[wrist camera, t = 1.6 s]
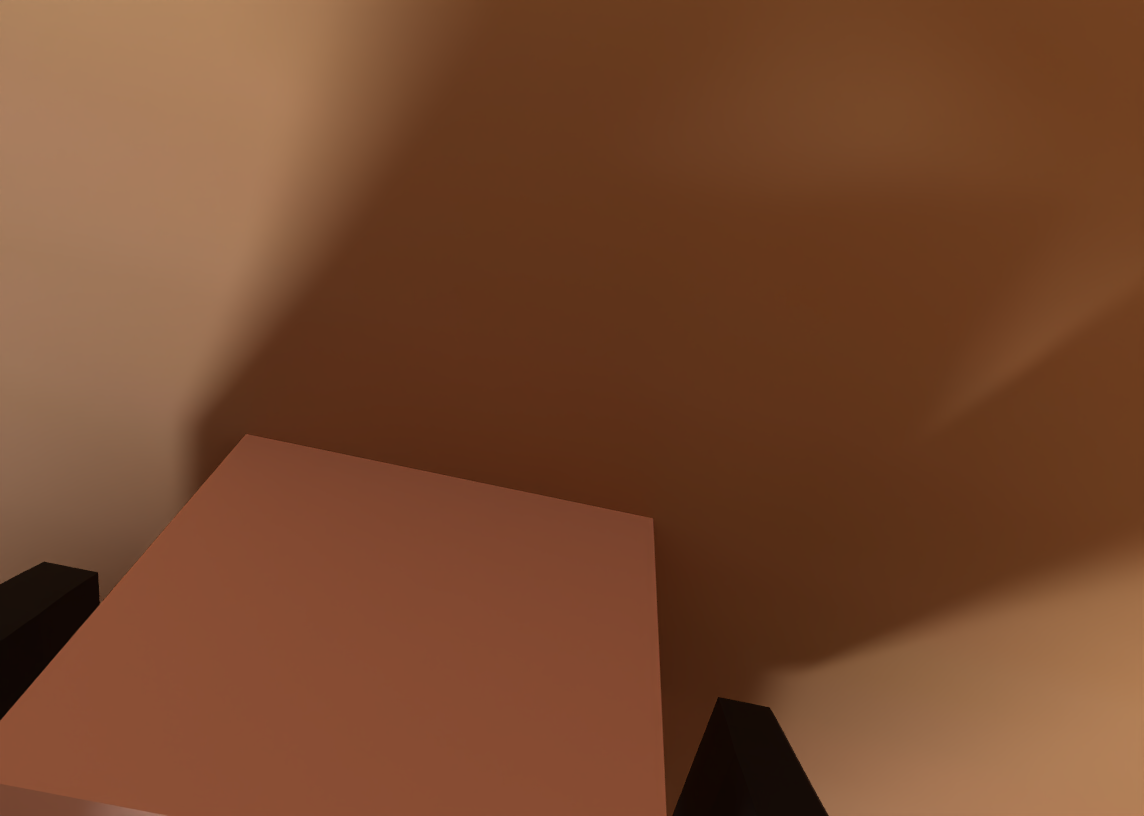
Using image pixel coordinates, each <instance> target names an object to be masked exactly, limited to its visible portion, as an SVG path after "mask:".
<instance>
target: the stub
mask: <svg viewBox="0 0 1144 816" xmlns="http://www.w3.org/2000/svg"><path fill="white" fill-rule="evenodd" d="M0 816H667V813H666V790H665V768H664V746H663V724H662V702H661V680H660V658H659V636H658V614H657V592H656V570H655V547H654V525H653V518H649V517H644V516H639V515H635V514H630V513H625V512H620V511H615V510H610V509H606V508H601V507H596V506H591V505H586V504H582V503H577V502H572V501H567V500H562V499H558V498H553V497H548V496H543V495H538V494H533V493H529V492H524V491H519V490H514V489H509V488H505V487H500V486H495V485H490V484H485V483H480V482H476V481H471V480H466V479H461V478H456V477H452V476H447V475H442V474H437V473H432V472H427V471H423V470H418V469H413V468H408V467H403V466H399V465H394V464H389V463H384V462H379V461H374V460H370V459H365V458H360V457H355V456H350V455H346V454H341V453H336V452H331V451H326V450H321V449H317V448H312V447H307V446H302V445H297V444H293V443H288V442H283V441H278V440H273V439H268V438H264V437H259V436H254V435H249V434H246V435H245V436H244V437H243V438H242V439H241V440H240V442H239V443H238V444H237V445H236V446H235V447H234V449H233V450H232V451H231V452H230V453H229V454H228V456H227V457H226V458H225V459H224V460H223V461H222V463H221V464H220V465H219V466H218V467H217V468H216V470H215V471H214V472H213V473H212V474H211V475H210V477H209V478H208V479H207V480H206V481H205V482H204V484H203V485H202V486H201V487H200V488H199V489H198V491H197V492H196V493H195V494H194V495H193V496H192V498H191V499H190V500H189V501H188V502H187V503H186V505H185V506H184V507H183V508H182V509H181V510H180V512H179V513H178V514H177V515H176V516H175V517H174V519H173V520H172V521H171V522H170V523H169V524H168V526H167V527H166V528H165V529H164V530H163V531H162V533H161V534H160V535H159V536H158V537H157V538H156V540H155V541H154V542H153V543H152V544H151V545H150V547H149V548H148V549H147V550H146V551H145V552H144V554H143V555H142V556H141V557H140V558H139V559H138V561H137V562H136V563H135V564H134V565H133V566H132V568H131V569H130V570H129V571H128V572H127V573H126V575H125V576H124V577H123V578H122V579H121V580H120V582H119V583H118V584H117V585H116V586H115V587H114V589H113V590H112V591H111V592H110V593H109V594H108V596H107V597H106V598H105V599H104V600H103V601H102V603H101V604H100V605H99V606H98V607H97V608H96V610H95V611H94V612H93V613H92V614H91V615H90V617H89V618H88V619H87V620H86V621H85V622H84V624H83V625H82V626H81V627H80V628H79V629H78V631H77V632H76V633H75V634H74V635H73V636H72V638H71V639H70V640H69V641H68V642H67V643H66V645H65V646H64V647H63V648H62V649H61V650H60V652H59V653H58V654H57V655H56V656H55V657H54V659H53V660H52V661H51V662H50V663H49V664H48V666H47V667H46V668H45V669H44V670H43V671H42V673H41V674H40V675H39V676H38V677H37V678H36V680H35V681H34V682H33V683H32V684H31V685H30V687H29V688H28V689H27V690H26V691H25V692H24V694H23V695H22V696H21V697H20V698H19V699H18V701H17V702H16V703H15V704H14V705H13V706H12V708H11V709H10V710H9V711H8V712H7V713H6V715H5V716H4V717H3V718H2V719H1V720H0Z"/></svg>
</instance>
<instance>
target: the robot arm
mask: <svg viewBox="0 0 1144 816" xmlns="http://www.w3.org/2000/svg"><path fill="white" fill-rule="evenodd" d="M99 605H100V602H99V584H98V572H93V571H88V570H83V569H78V568H73V567H68V566H63V565H58V564H53V563H48V562H43V563H41V564H39V565H37V566H35V567H33V568H31V569H29V570H27V571H25V572H23V573H21V574H19V575H17V576H15V577H13V578H11V579H10V580H8V581H6V582H4V583H2V584H0V720H1V719H2V718H3V717H4V716H5V715H6V713H7V712H8V711H9V710H10V709H11V708H12V706H13V705H14V704H15V703H16V702H17V701H18V699H19V698H20V697H21V696H22V695H23V694H24V692H25V691H26V690H27V689H28V688H29V687H30V685H31V684H32V683H33V682H34V681H35V680H36V678H37V677H38V676H39V675H40V674H41V673H42V671H43V670H44V669H45V668H46V667H47V666H48V664H49V663H50V662H51V661H52V660H53V659H54V657H55V656H56V655H57V654H58V653H59V652H60V650H61V649H62V648H63V647H64V646H65V645H66V643H67V642H68V641H69V640H70V639H71V638H72V636H73V635H74V634H75V633H76V632H77V631H78V629H79V628H80V627H81V626H82V625H83V624H84V622H85V621H86V620H87V619H88V618H89V617H90V615H91V614H92V613H93V612H94V611H95V610H96V608H97V607H98V606H99ZM673 816H828V814H827V812H826V810H825V808H824V807H823V805H822V803H821V801H820V799H819V797H818V796H817V794H816V792H815V790H814V788H813V787H812V785H811V783H810V781H809V779H808V777H807V775H806V774H805V772H804V770H803V768H802V766H801V764H800V762H799V760H798V759H797V757H796V755H795V753H794V751H793V749H792V747H791V745H790V744H789V742H788V740H787V738H786V736H785V734H784V732H783V730H782V728H781V727H780V725H779V723H778V721H777V719H776V717H775V716H774V714H773V712H772V711H771V709H770V708H769V707H765V706H760V705H755V704H750V703H745V702H740V701H735V700H730V699H725V698H720V697H718V699H717V702H716V704H715V707H714V710H713V712H712V715H711V717H710V720H709V722H708V725H707V728H706V730H705V733H704V735H703V738H702V741H701V743H700V746H699V748H698V751H697V753H696V756H695V759H694V761H693V764H692V766H691V769H690V772H689V774H688V777H687V779H686V782H685V785H684V787H683V790H682V792H681V795H680V797H679V800H678V803H677V805H676V808H675V810H674V813H673Z"/></svg>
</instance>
